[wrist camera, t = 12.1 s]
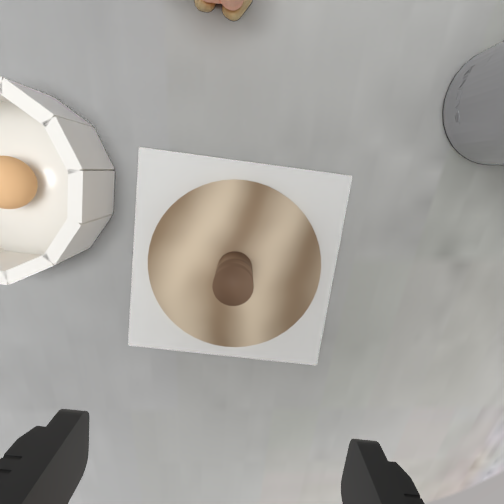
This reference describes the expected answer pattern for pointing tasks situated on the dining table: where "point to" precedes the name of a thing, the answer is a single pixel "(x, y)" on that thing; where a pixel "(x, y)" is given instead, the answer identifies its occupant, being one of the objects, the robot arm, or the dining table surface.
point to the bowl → (51, 182)
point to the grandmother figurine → (225, 7)
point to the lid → (234, 263)
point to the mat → (216, 169)
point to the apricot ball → (16, 183)
